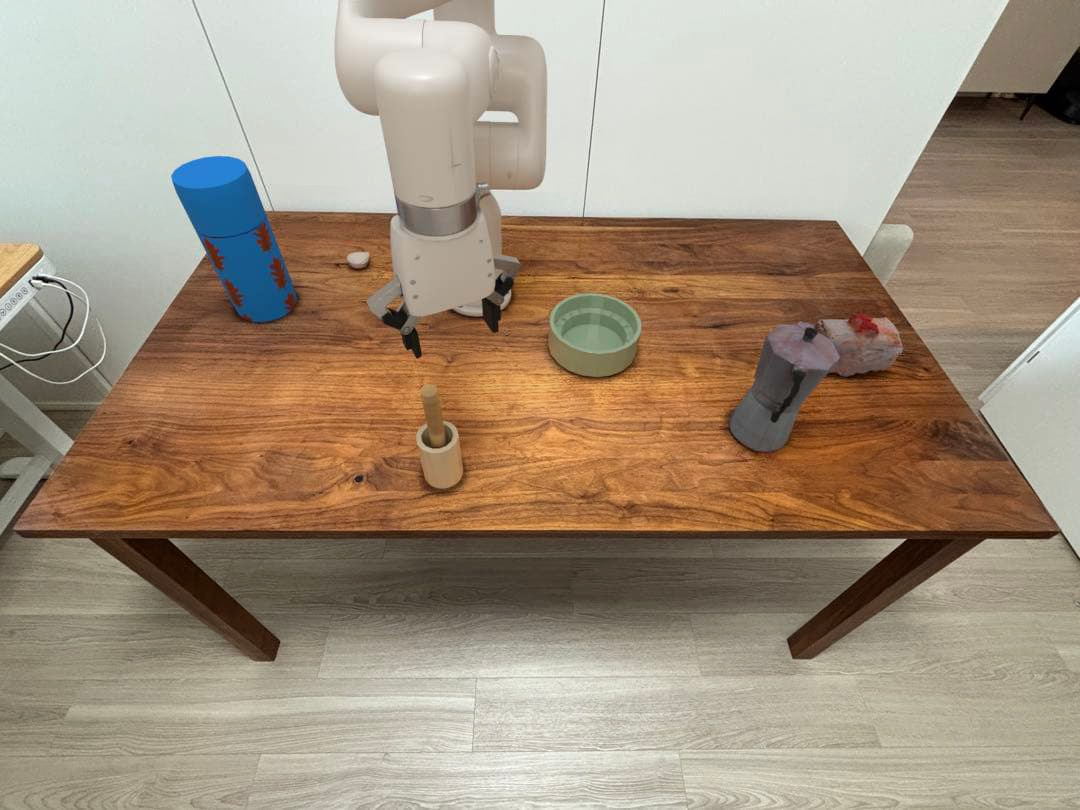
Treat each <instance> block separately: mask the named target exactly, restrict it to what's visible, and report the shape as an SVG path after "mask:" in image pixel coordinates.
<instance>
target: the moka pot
mask: <svg viewBox="0 0 1080 810" xmlns="http://www.w3.org/2000/svg"><path fill="white" fill-rule="evenodd" d="M814 326H815V325H813V324H811V323H808V322H804V321H801V320H800V321H798V322H797V324H779V325H777V326H776V327H775V328H774V329H773V330H771V331H770V332H769V333H768V334H767V335H766V336H765V338H764V342H763V345H762V347H761V348H762V349H761V351H760V355H759V359H758V363H757V364H756V368H755V371H754V375H753V378H754V381H753V384H752V386H751V387H750V388H749V390H748V391H747V392H746V393H745V395H744V397H743V398H742V399H741V400H740V402H739V403H738V404H737V406H736V408H735V409H734V410H733V411H732V413H731V414H730V416H729V417H730V418H729V421H728V422H729V424H728V427H729V429H730V432H731V434H732V435H733V436H734V437H735V439H736V440H738V441H739V442H740V443H741V444H742V445H744V446H746V447H747V448H749V449H751V450H753V451H755V452H763V453H769V452H776V451H778V450H780V449H781V448H783V447H784V446H786V444H787V442H788V440H789V437H790V435H791V432H792V430H793V427H794V425H795V422H796V419H797V417H798V414H799V411H800V409H801V406H802V405H803V403H804V402H805V401H806V400H807V398H808V397H809V396H810V395H812V393H813V392H814V391H815V390H816V388H817V387H818V386H819V385H820V383H821V382H822V381H823V380H824V379H825V377H826V376H827V375H828V374H830V373H829V371H830V370H831V369H832V368H833V367H834V365H835V364H836V363H837V362H838V361H839V359H840V356H839V354H838V352H837V350H836V349H835V347H834V345H833V343H832V341H831V340H830V339H829V338H827V337H826V336H824V335H822V334H820V333H818V331H817V330H816V329H815V328H814Z"/></svg>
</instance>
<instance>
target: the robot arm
mask: <svg viewBox="0 0 1080 810" xmlns="http://www.w3.org/2000/svg"><path fill="white" fill-rule="evenodd" d="M495 2H496V0H338V3H337V13H336V19H335V20H336V21H335V29H334V66H335V72H336V73H335V74H336V78H337V81H338V84H339V88H340V90H341V93H342V94H343V96H344V98H345V99H346V101H347V103H349V104H350V106H351V107H353V108H354V109H355V110H357V111H358V112H360V113H362V114H365V115H369V116H375V117H379V119H380V120H379V121H380V125H381V131H382V135H383V136H382V137H383V141H384V142H383V143H384V146H385V151H386V157H387V162H388V167H389V171H390V172H389V173H390V179H391V183H392V189H393V194H394V200H395V206H396V211H397V214H395V215H394V216H392V217H391V221H390V229H389V230H390V232H389V233H390V234H389V235H390V238H389V239H390V255H391V265H392V272H393V278H392V279H391V280H390V281H388V282H387V283H385V285H383V286H381V288H380V289H378V290H377V291H376V292H374V293H373V294H372V295H370V296H369V297H368V298H367V299H366V301H365V302H366V306H367V307H368V310H369V311H370V312H371V313H372V314H373V315H374V316H375V317H376V318H378V319H379V320H381V321H382V323H383V324H384V325H386V326H388V327H391V328H393V329H396V330H398V331H400V336H401V341H402V344H403V346H404V348H405V350H406V351H410V350H411V352H412V353H413V356H414V357H415V359H416V360H418V359H421V358H422V357H423V353H422V347H421V342H420V341H421V340H420V336H419V332H418V330H417V329H416V325H417V324H418V322H419V321H420V319H421V318H422V317H427V316H431V315H435V314H438V313H442V312H445V311H449V310H453V311H454V312H456V313H458V314H460V315H464V316H468V317H482V319H483V321H484V323H485V324H486V326H487V327H488V328H489V330H490V331H491V333H493V334H497V333H499V332H500V331H499V329H500V328H499V327H500V326H499V322H500V321H502V320H501V319H502V312H501V311H502V310H504V309H505V308H506V307H507V306H508V305H509V303H510V301H511V299H512V288H513V287H514V285H515V279H517V276H518V274H519V273H520V270H521V268H522V264H521V262H520V261H519V259H518V258H517V257H515V256H510V255H506V254H503V228H502V211H501V207H500V204H499V202H498V200H497V199H496V197H495V195H494V194H493V193H492V192H491V191H492V190H499V191H529V190H535V189H537V188H538V187H540V186H541V185H542V183H543V181H544V178H545V174H546V167H547V131H548V130H547V129H548V128H547V126H548V125H547V124H548V66H547V60H546V59H547V58H546V55H545V51H544V47H543V46H542V44H541V43H540V42H539V40H537V39H536V38H534V37H531V36H527V35H519V34H498V33H497V31H496V13H495V12H496V11H495V6H496V5H495ZM431 10H432V11H433V12H432V13H433V20H428V19H417V18H416V19H415V18H412V17H413V16H416V15H418V14H421V13H424V12H427V11H431ZM485 112H505V113H506V112H509V113H512V114H513V115H514V116H516V118H517V122H516V121H515V122H513V121H490V120H479V119H480V118H481V117H482V116H483V114H485ZM397 298H400V299H402V300H401V302H400V303H399V305H398V306H397V308H396V310H395V309H393V308H391V307H389V305H390V304H391V303H392V302H394V301H395V300H396V299H397Z"/></svg>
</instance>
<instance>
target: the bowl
mask: <svg viewBox="0 0 1080 810" xmlns="http://www.w3.org/2000/svg"><path fill="white" fill-rule="evenodd" d="M641 335H642V320H641V318H640V315H639V314H638V312H637V311H636V310H635V309H634V308H633V307H632V306H631V305H630V304H629V303H627V302H625V301H623V300H622V299H620V298H618V297H614V296H611V295H608V294H604V293H595V292H589V293H587V292H585V293H578V294H574V295H571V296H568V297H566V298H564V299H562V300H561V301H559V302H558V303H557V304H556V305H555V306H554V308H553V309H552V310H551V312H550V317H549V321H548V339H547V346H548V350H549V353H550V355H551V357H552V358H553V359H554V361H555V362H556V363H557V364H558V365H560V366H561V367H562V368H564V369H565V370H567V371H569V372H572V373H574V374H576V375H580V376H584V377H592V378H600V377H601V378H602V377H609V376H613V375H616V374H618V373H621V372H623V371H624V370H626V369H627V368H628V367H629V366H631V364H632V363H633V362H634V360H635V358H636V356H637V352H638V348H639V343H640V339H641Z"/></svg>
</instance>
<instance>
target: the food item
mask: <svg viewBox="0 0 1080 810" xmlns="http://www.w3.org/2000/svg"><path fill="white" fill-rule="evenodd" d="M813 326H814V328H815V329H816V330H817V331H818V333H820V334H822V335H824V336H826V337H827V338H829V339H830V340H831V341H832V343H833V345H834V347H835V349H836V350H837V352H838V354H839V356H840V359H839V361H838V362H837V363H836V364H835V365H834V367H833V368H832V369H831V370H830V371H829V373H828V374H830V373H833V374H834V373H835V374H838V375H840V376H842V377H845V378H847V377H849V376H855V374H866V373H869V372H870V371H871V372H875V373H876V372H879V371H885V370H888V369H890V368H892V365H893V364H894V363H895V362H896V360H897V358H898V357H899V356H900V355H901V354H902V353H903V350H904V346H903V343H902V340H901V337H900V333H899V331H898V329H897V328H896V326H895V324H894V323H893V322H892V321H891V320H889V319H888V318H887V317H886V316H885V317H880V318H879V317H877V318H876V317H870V316H869V315H864V314H862V313H859V314H858V313H857V314H855V313H853V314H851V316H850V317H849V318H848V319H829V318H828V319H820V318H819V319H818V320H817V322H816V323H815V324H814V325H813Z"/></svg>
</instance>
